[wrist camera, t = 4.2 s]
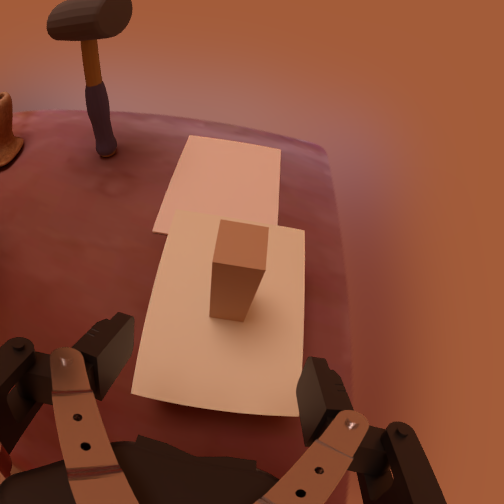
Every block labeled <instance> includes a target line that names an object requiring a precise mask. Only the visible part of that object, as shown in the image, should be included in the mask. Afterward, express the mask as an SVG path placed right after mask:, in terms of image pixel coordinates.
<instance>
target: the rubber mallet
mask: <svg viewBox="0 0 504 504" xmlns="http://www.w3.org/2000/svg"><path fill="white" fill-rule="evenodd" d="M131 15H132V2H131V0H67V1H64V2H62V3H60V4H59V5H57V6H56V7H55V8H54V9H53V10H52V12H51V13H50V15H49V17H48V20H47V31H48V34H49V35H50V36H51V37H52V38H53V39H55V40H65V41H66V40H67V41H81V50H82V58H83V66H84V73H85V80H86V89H85V97H86V105H87V112H88V115H89V118H90V121H91V123H92V126H93V131H94V135H95V139H96V151H97V152H98V154H100V155H101V156H103V157H109V156H111V155H113V154H114V153H115V150H116V147H117V142H116V139H115V137H114V135H113V132H112V127H111V122H110V110H109V101H108V96H107V92H106V88H105V85H104V83H103V81H102V77H101V70H100V62H99V54H98V45H97V39H103V38H109V37H114V36H116V35H118V34H119V33H121V32H122V31H123V30H124V29H125V27H126V26H127V25H128V23H129V21H130V18H131Z"/></svg>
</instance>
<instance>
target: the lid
mask: <svg viewBox="0 0 504 504" xmlns="http://www.w3.org/2000/svg"><path fill="white" fill-rule="evenodd" d="M304 291H305V232H304V230H299V229H294V228H288V227H283V226H277V225H271V224H266V223H260V222H254V221H248V220H242V219H236V218H230V217H224V216H217V215H211V214H205V213H198V212H191V211H185V210H178V209H176V211H175V214H174V217H173V220H172V223H171V226H170V230H169V233H168V236H167V240H166V243H165V246H164V250H163V253H162V257H161V260H160V264H159V268H158V271H157V275H156V279H155V282H154V286H153V290H152V294H151V298H150V302H149V306H148V311H147V315H146V319H145V324H144V328H143V333H142V337H141V342H140V347H139V352H138V357H137V362H136V367H135V373H134V378H133V384H132V390H131V394H135V395H139V396H143V397H147V398H152V399H156V400H161V401H165V402H170V403H175V404H181V405H186V406H192V407H198V408H204V409H211V410H218V411H226V412H235V413H245V414H257V415H272V416H299V409H298V403H297V397H296V387H297V383H298V380H299V378H300V375H301V373H302V357H303V332H304Z"/></svg>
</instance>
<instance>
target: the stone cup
mask: <svg viewBox="0 0 504 504" xmlns="http://www.w3.org/2000/svg"><path fill="white" fill-rule="evenodd" d="M12 117H13V114H12V99H11V97H10V95H9V94H8V93H7V92H2V93H0V167H1V166H4V165H6V164H8V163H9V162H10V161H11V160H12V159H13V158H14V157H15V156H16V155H17V153H18V152H19V151H20V149H21V148H22V144H23V142H24V140H23V139H22V138H19V137H15V136H14V134H13V132H12Z"/></svg>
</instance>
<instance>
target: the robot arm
mask: <svg viewBox="0 0 504 504" xmlns="http://www.w3.org/2000/svg"><path fill="white" fill-rule="evenodd" d="M133 344H134V317H133V316H130V315H127V314H123V313H120V312H118V313H117V314H116V315H115V316H114V317H113V318H112V319H111V320H108V319H104V320H102V321H99V322H97V323H96V324H95V325H94V326H93V327H92V328H91V329H90V330H89V331H88V332H87V334H85V335H84V336H83V337H82V338H81V339H80V340H79V341H78V342H77V343H76V344H75V345H74V346H73V347H72V348H69V347H62V348H58V349H56V350H54V351H53V352H52V353H51V355H50V354H45V353H40V352H36V351H35V350H34V345H33V343H32V342H31V341H30V340H28V339H26V338H23V337H16V338H12V339H10V340H8V341H7V342H6V343H5V344H4V345H2V346H1V347H0V504H324V503H325V502H326V500H327V499H328V497H329V496H330V495H331V493H332V492H333V490H334V489H335V487H336V486H337V484H338V483H339V481H340V480H341V478H342V477H343V475H344V474H345V472H346V470H349V471H354V472H357V476H358V481H359V485H360V490H361V494H362V499H363V504H447V503H446V501H445V499H444V496H443V494H442V491H441V489H440V486H439V484H438V482H437V479H436V477H435V475H434V473H433V470H432V468H431V466H430V463H429V461H428V459H427V457H426V455H425V452H424V450H423V448H422V446H421V444H420V442H419V440H418V438H417V436H416V434H415V431H414V430H413V429H412V428H411V427H410V426H409V425H407V424H405V423H403V422H393V423H390V424H389V425H388V427H387V428H386V429H381V428H377V427H373V426H369V422H368V420H367V419H366V418H365V417H364V416H363V415H362V414H360V413H359V412H356V411H354V410H353V407H352V405H351V402H350V399H349V397H348V394H347V392H346V389H345V387H344V386H343V382H342V380H341V377H340V376H339V375H338V374H337V373H336V372H335V371H334V370H330V369H329V367H328V364H327V361H326V359H324V358H317V357H308V359H307V361H306V363H305V366H304V368H303V370H302V373H301V375H300V378H299V380H298V383H297V387H296V397H297V403H298V409H299V414H300V420H301V426H302V432H303V438H304V444H305V446H307V447H309V448H308V450H307V451H306V452H305V453H304V454H303V455H302V457H301V458H300V459H299V460H298V461H297V462H296V463H295V464H294V465H293V466H292V468H291V469H290V470H289V471H288V472H287V473H286V474H285V475H284V476H283V477H282V478H281V479H280V480H279V479H277V478H276V477H274V476H273V475H271V474H269V473H267V472H265V471H262V470H259V469H256V461H255V460H247V459H239V458H233V457H196V456H193V455H190V454H188V453H186V452H184V451H182V450H179V449H177V448H175V447H173V446H171V445H169V444H167V443H164V442H160V441H157V440H153V439H150V438H147V437H144V436H141V435H138V437H137V440H136V442H131V441H121V442H112V443H110V442H109V439H108V436H107V434H106V431H105V428H104V425H103V422H102V419H101V416H100V413H99V410H98V407H97V403H96V400H95V399H98V400H100V401H102V399H103V398H104V396H105V395H106V393H107V392H108V390H109V388H110V387H111V385H112V384H113V382H114V381H115V379H116V378H117V376H118V375H119V373H120V372H121V370H122V368H123V367H124V365H125V364H126V362H127V361H128V359H129V358H130V356H131V354H132V351H133ZM14 385H15V387H14V388H13V389H12V390H11V388H12V387H13V386H14ZM10 390H11V392H10V393H9V391H10ZM8 393H9V394H8ZM43 403H46V404H50V405H53V408H54V415H55V421H56V426H57V431H58V436H59V441H60V446H61V450H62V454H63V458H64V460H61V461H58V462H55V463H52V464H49V465H45V466H42V467H39V468H35V469H31V470H28V471H24V472H20V473H17V474H13V475H11V476H10V471H11V468H12V461H11V458H10V456H9V454H10V453H11V451H12V450H13V448H14V446H15V445H16V443H17V442H18V440H19V439H20V437H21V435H22V434H23V432H24V431H25V429H26V428H27V426H28V425H29V423H30V422H31V420H32V419H33V418H34V416H35V415H36V413H37V412H38V410H39V409H40V407H41V406H42V405H43ZM390 469H391V470H392V473H393V477H394V480H393V478H392V474H391V471H390Z"/></svg>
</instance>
